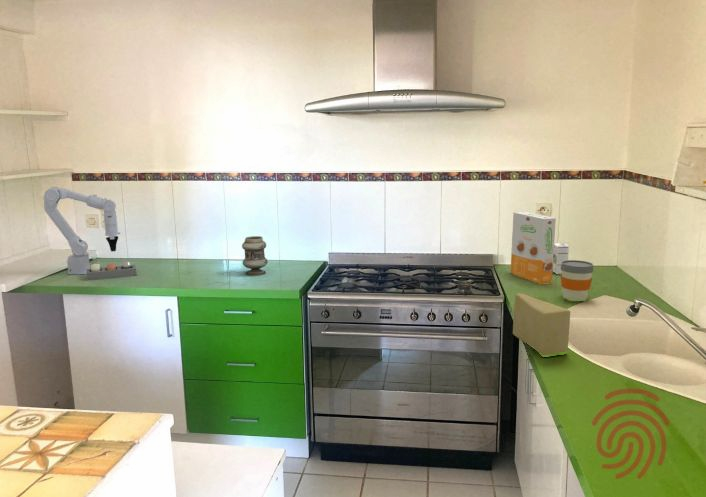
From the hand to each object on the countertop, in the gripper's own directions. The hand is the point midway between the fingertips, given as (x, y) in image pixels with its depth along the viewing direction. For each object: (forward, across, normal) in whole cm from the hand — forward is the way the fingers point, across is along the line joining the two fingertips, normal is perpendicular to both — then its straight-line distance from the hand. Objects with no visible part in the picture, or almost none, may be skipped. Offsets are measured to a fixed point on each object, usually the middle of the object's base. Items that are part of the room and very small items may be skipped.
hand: (113, 251), depth 291 cm
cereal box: (+10, -99, -180) cm, 205 cm away
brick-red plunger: (+8, -11, +2) cm, 14 cm away
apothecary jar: (+10, -36, -64) cm, 74 cm away
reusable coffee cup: (+10, -133, -174) cm, 219 cm away
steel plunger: (+8, -12, -5) cm, 15 cm away
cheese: (+10, -168, -124) cm, 209 cm away
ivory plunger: (+8, -12, +9) cm, 16 cm away
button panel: (+10, -12, +2) cm, 15 cm away
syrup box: (+10, -98, -198) cm, 221 cm away
